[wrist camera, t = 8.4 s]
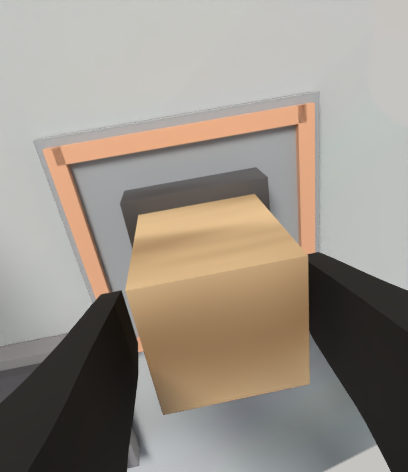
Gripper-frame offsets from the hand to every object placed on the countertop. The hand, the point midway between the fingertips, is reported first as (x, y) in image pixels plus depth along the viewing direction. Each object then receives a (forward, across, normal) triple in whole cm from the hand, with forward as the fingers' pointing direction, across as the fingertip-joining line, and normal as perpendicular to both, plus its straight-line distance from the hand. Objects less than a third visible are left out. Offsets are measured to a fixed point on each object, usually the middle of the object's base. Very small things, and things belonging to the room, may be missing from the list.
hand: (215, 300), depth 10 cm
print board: (+4, 0, 0) cm, 4 cm away
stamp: (+4, 0, 0) cm, 4 cm away
